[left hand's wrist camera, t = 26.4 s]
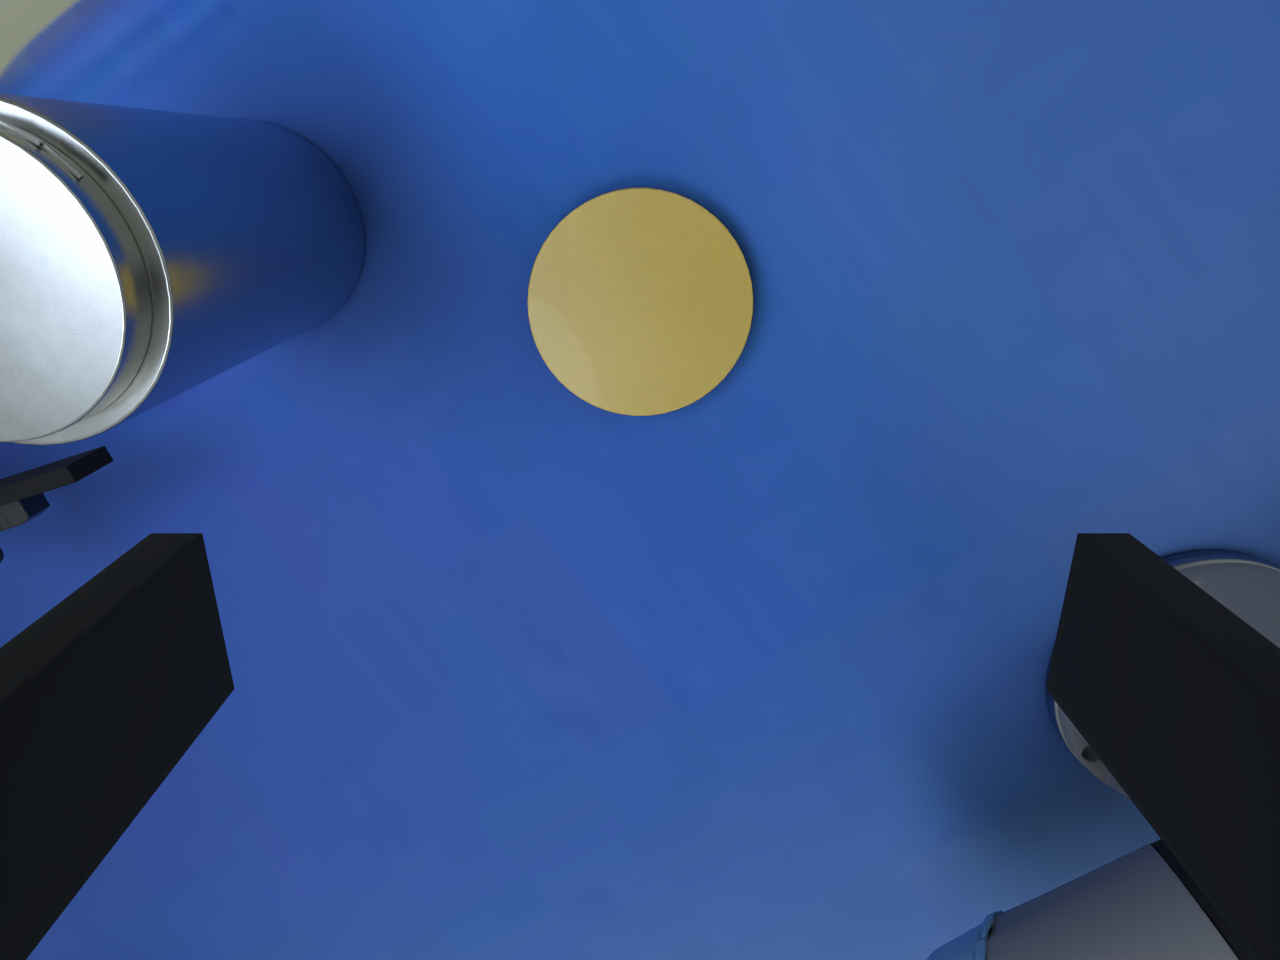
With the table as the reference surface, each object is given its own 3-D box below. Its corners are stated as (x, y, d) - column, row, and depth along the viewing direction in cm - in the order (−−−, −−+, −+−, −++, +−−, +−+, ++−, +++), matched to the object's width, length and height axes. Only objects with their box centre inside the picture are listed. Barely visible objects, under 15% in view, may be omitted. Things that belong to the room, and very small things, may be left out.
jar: (275, 75, 37) (-55, -2, 19) (406, 266, 40) (222, 350, 22) (114, 194, 39) (-322, 221, 21) (251, 368, 42) (-32, 519, 24)
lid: (507, 371, 42) (502, 378, 40) (566, 155, 38) (562, 155, 36) (706, 432, 43) (708, 442, 41) (781, 229, 39) (786, 231, 38)
